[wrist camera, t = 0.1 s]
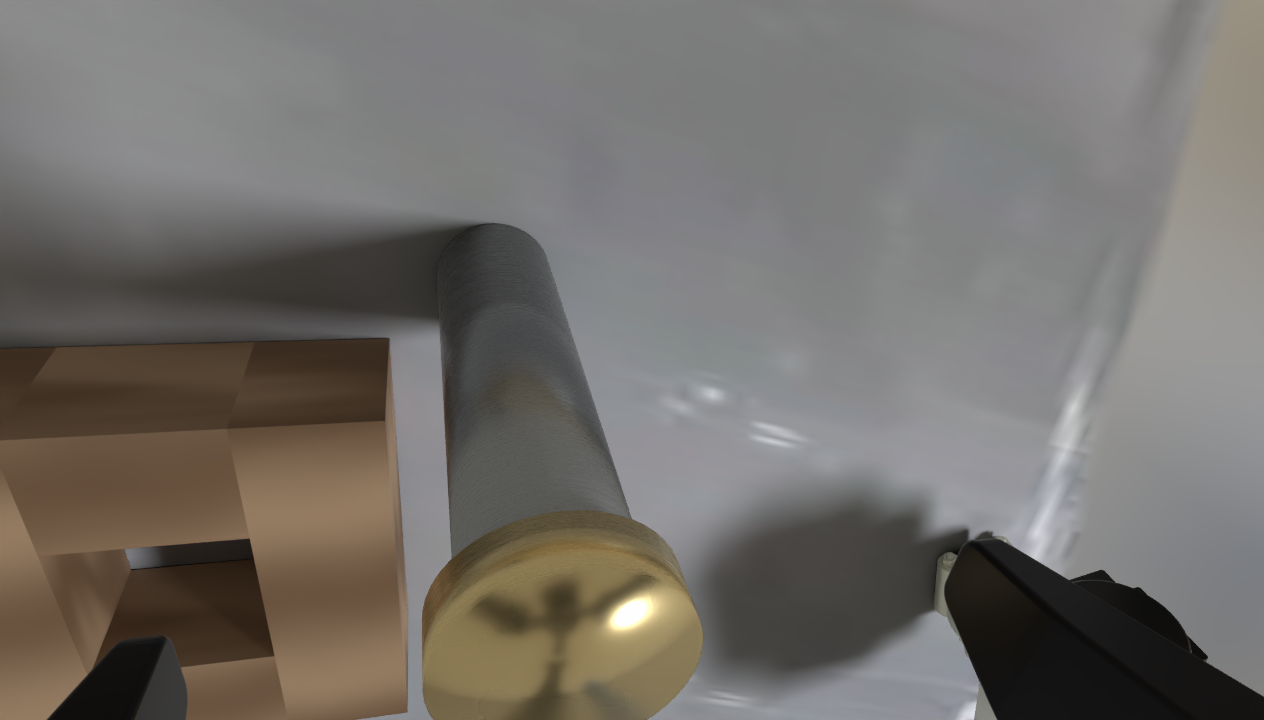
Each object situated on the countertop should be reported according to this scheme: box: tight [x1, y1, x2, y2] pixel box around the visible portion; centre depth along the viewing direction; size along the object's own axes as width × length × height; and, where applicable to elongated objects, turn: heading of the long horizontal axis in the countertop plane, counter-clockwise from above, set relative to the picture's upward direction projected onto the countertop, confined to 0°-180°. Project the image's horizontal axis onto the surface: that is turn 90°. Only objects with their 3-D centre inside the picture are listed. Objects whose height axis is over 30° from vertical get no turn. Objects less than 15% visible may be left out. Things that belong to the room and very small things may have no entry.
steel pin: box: [422, 224, 703, 720], centre depth 17 cm, size 4×4×13 cm
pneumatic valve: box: [934, 536, 1208, 720], centre depth 31 cm, size 6×12×12 cm, turn 10°
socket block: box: [0, 339, 408, 720], centre depth 23 cm, size 12×12×4 cm
